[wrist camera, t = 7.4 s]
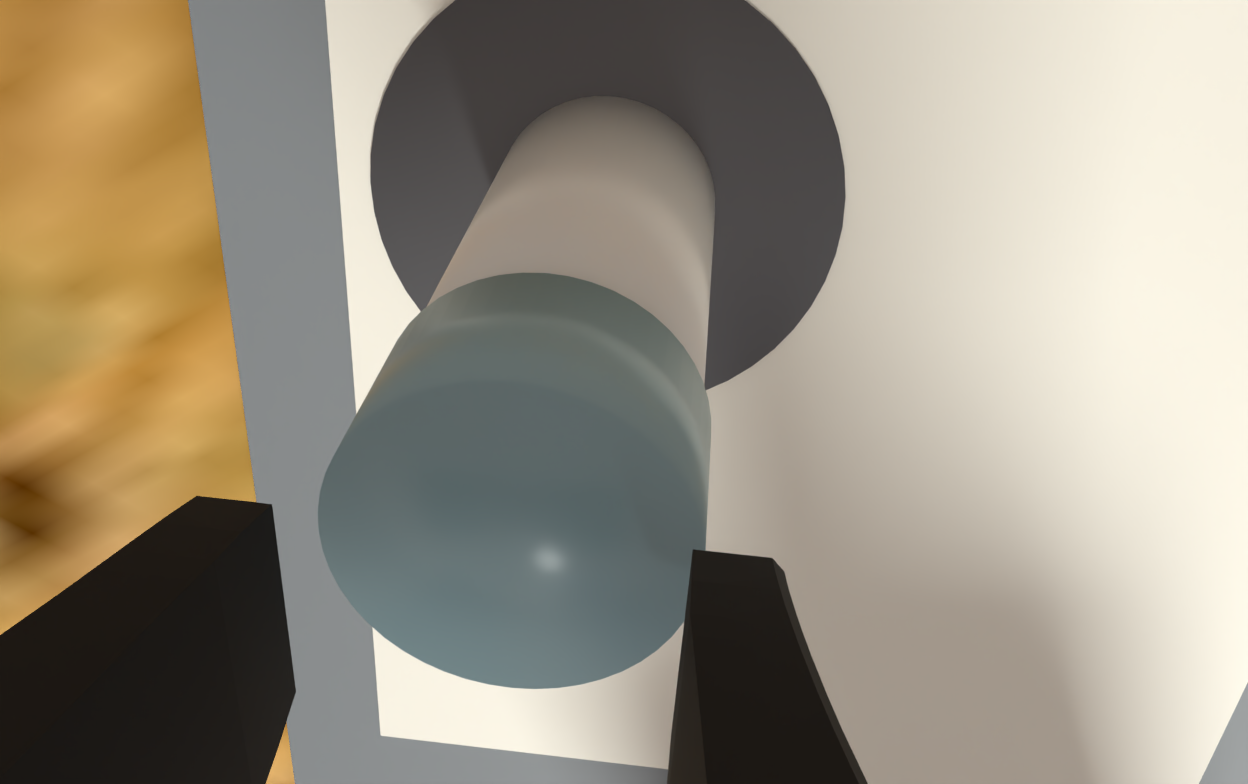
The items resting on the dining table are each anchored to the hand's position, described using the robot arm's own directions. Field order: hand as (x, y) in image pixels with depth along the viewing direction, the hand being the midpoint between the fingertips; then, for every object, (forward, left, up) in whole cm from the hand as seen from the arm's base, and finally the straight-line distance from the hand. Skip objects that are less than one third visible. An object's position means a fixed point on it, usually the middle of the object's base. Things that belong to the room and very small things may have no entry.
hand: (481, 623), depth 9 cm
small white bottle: (0, 0, -9) cm, 9 cm away
